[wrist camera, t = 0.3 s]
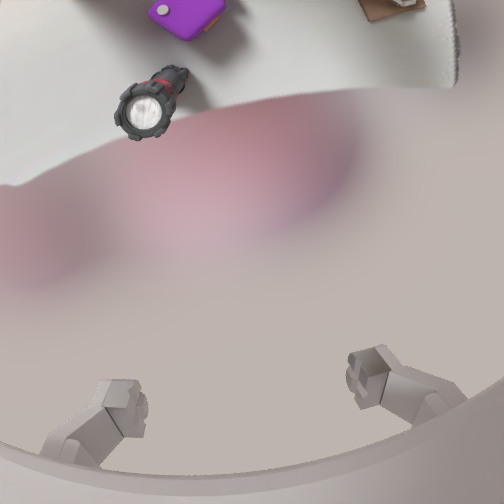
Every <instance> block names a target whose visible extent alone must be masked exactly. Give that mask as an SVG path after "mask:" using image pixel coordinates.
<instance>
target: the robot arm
mask: <svg viewBox="0 0 504 504" xmlns="http://www.w3.org/2000/svg"><path fill="white" fill-rule="evenodd" d="M348 363H349V364H350V366H349V367H348V368H347V370H346V382H347V385H348V388H349V389H350V391H351V392H353V393H355V398H354V399H355V401H356V402H357V404H358V406H359V408H360V409H361V410H362V409H366V408H369V407H372V406H376V405H379V404H380V406H382V407H384V408H385V409H387V410H389V411H391V412H392V413H394V414H395V415H397V416H399V417H401V418H402V419H404V420H405V421H407V422H409V423H411V424H412V427H411V429H410V430H407V431H404V432H402V433H400V434H397V435H395V436H392V437H389V438H387V439H384V440H382V441H379V442H376V443H373V444H370V445H367V446H365V447H361V448H358V449H355V450H352V451H349V452H345V453H342V454H338V455H335V456H331V457H327V458H323V459H319V460H315V461H311V462H306V463H301V464H297V465H292V466H286V467H281V468H275V469H268V470H261V471H253V472H245V473H233V474H220V475H198V476H197V475H194V476H177V475H174V476H173V475H151V474H138V473H127V472H119V471H111V470H105V469H102V468H101V467H100V466H99V465H100V464H101V463H102V462H103V461H104V459H105V458H106V457H107V456H108V455H109V454H110V453H111V452H112V451H113V450H114V448H115V447H116V446H117V445H118V444H119V443H120V442H121V441H122V440H123V437H133V438H143V436H144V431H145V423H144V421H143V420H144V419H145V418H147V416H148V403H147V399H146V396H145V395H144V394H143V393H142V392H140V390H141V385H140V383H139V381H138V380H126V379H123V380H122V379H102V380H101V381H100V383H99V385H98V388H97V390H96V393H95V395H94V397H93V400H92V402H91V405H90V406H86V407H85V408H83V409H82V410H81V411H79V412H78V413H76V414H75V415H74V416H73V417H71V418H70V419H68V420H67V421H65V422H64V423H63V424H61V425H60V426H59V427H57V428H56V429H54V430H53V431H52V432H50V433H49V434H48V436H47V438H46V440H45V443H44V445H43V447H42V450H41V452H40V455H38V454H35V453H31V452H28V451H25V450H22V449H19V448H17V447H14V446H11V445H8V444H6V443H3V442H1V441H0V504H504V377H503V378H501V379H500V380H498V381H497V382H495V383H494V384H492V385H491V386H489V387H488V388H486V389H485V390H483V391H482V392H480V393H478V394H477V395H475V396H474V397H472V398H470V399H468V398H467V397H466V396H465V395H464V394H463V393H462V392H461V390H460V389H459V388H458V387H457V386H456V385H455V384H454V383H453V382H451V381H448V380H445V379H442V378H439V377H436V376H434V375H431V374H428V373H425V372H422V371H419V370H417V369H414V368H411V367H409V366H405V367H404V366H403V365H402V364H401V363H400V362H399V360H398V359H397V358H396V357H395V356H394V354H393V353H392V352H391V351H390V350H389V349H388V347H387V346H386V345H384V344H382V345H378V346H375V347H372V348H368V349H365V350H361V351H357V352H353V353H350V354H349V356H348Z"/></svg>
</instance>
